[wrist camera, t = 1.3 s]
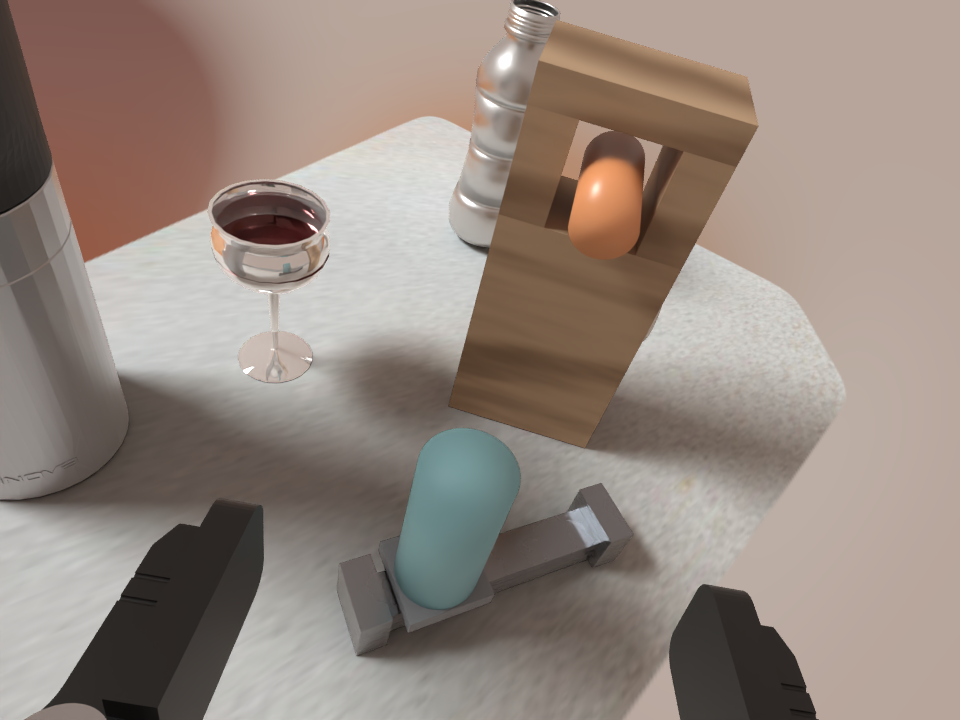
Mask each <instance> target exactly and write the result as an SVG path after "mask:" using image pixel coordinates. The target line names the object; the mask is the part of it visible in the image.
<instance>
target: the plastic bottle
mask: <svg viewBox="0 0 960 720" xmlns="http://www.w3.org/2000/svg"><path fill="white" fill-rule="evenodd" d="M556 20H558V21H559V20H560V11H559V10H558V9H557V8H556V7H554V6H552V5H550V4H548V3H546V2H543V1H540V0H511V3H510V7H509V12H508V18H507V19H506V20H505V25H504V28H505V30H506V31H507V34H506V36H505V37H504V38H503V39H502V40H500V41H499V42H498V43H497V44H496V45H495V46H494V47H493V48H492V49H491V50H490V51H489V52H488V54H487V55H486V56H485V57H484V59H483V61H482V62H481V64H480V66H479V68H478V72H477V79H476V92H475V108H474V119H473V125H472V131H471V139H470V144H469V150H468V153H467V156H466V159H465V163H464V166H463V169H462V172H461V176H460V179H459V181H458V183H457V185H456V187H455V189H454V192H453V194H452V197H451V200H450V203H449V221H450V224H451V226H452V228H453V230H454V232H455V233H456V234H457V235H458V236H459V237H460V238H461V239H463V240H464V241H466V242H468V243H470V244H473V245H476V246H481V247H490V245H491V241H492V237H493V233H494V229H495V225H496V222H497V218H498V214H499V210H500V206H501V202H502V199H503V195H504V191H505V187H506V183H507V179H508V176H509V172H510V168H511V164H512V160H513V156H514V153H515V149H516V145H517V141H518V137H519V133H520V130H521V126H522V122H523V118H524V114H525V110H526V107H527V103H528V99H529V95H530V91H531V87H532V84H533V80H534V76H535V72H536V68H537V64H538V61H539V58H540V56H541V54H542V51H543V49H544V47H545V45H546V42H547V40H548V38H549V36H550V33H551V31H552V29H553V27H554V24H555V22H556Z"/></svg>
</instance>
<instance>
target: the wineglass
mask: <svg viewBox="0 0 960 720" xmlns="http://www.w3.org/2000/svg"><path fill="white" fill-rule="evenodd" d="M207 212H208V215H209V218H210V221H211V223H212V225H213V226H212V231H211V236H210V244H211V247H212V251H213V254H214V256H215V259H216V262H217V264H218V266H219V267H220V268H221V270H222V271H223V272H224V273H225V274H226V276H227V277H228V278H229V279H230V280H231V281H233V282H235V283H237V284H239V285H241V286H242V287H244V288H247V289H249V290H251V291H254V292H258V293H261V294H267V295H268V305H269V315H270V325H271V331H270V332H265V333H260V334H258V335H256V336H253V337H251V338H250V339H249V340H247V341H246V342H245V343H244V344H243V346H242V347H241V349H240V350H239V356H238V361H239V364H240V367H241V368H242V369H243V370H244V371H245V373H246V374H247V375H249V376H251V377H253V378H254V379H256V380H260V381H264V382H273V383H280V382H285V381H290V380H293V379H295V378H297V377H299V376H301V375H302V374H303V373H304V372H305V371H306V370H307V369H308V368H309V366H310V364H311V362H312V351H311V349H310V346H309V345H308V344H307V343H306V342H305V341H304V340H303V339H302V338H300V337H298V336H296V335H295V334H291V333H287V332H283V331H279V305H280V294H286V293H289V292H292V291H294V290H297V289H299V288H301V287H303V286H306V285H308V284H309V283H310V282H312V281H313V280H314V279H315V278H317V277H318V275H319V273H320V272H321V270H322V268H323V266H324V265H325V263H326V261H327V259H328V257H329V251H330V237H329V233H328V230H327V228H326V227H327V225H328V224H329V222H330V210H329V208H328V207H327V205H326V203H325V201H324V200H323V199H321V198H320V197H319V196H318V195H317V194H316V193H314V192H313V191H311V190H309V189H307V188H304V187H302V186H300V185H297V184H293V183H289V182H286V181H279V180H268V179H261V180H249V181H244V182H240V183H236V184H233V185H230V186H228V187H226V188H225V189H223V190H221V191H219V192H218V193H217V194H216V195H215V196H214V197H213V198H212V200H210V203H209V207H208V211H207Z"/></svg>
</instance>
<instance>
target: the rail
mask: <svg viewBox="0 0 960 720" xmlns="http://www.w3.org/2000/svg"><path fill="white" fill-rule="evenodd" d="M632 536H633V533H632V531H631V529H630V528H629V526H628V525H627V523H626V521H625V520H624V518H623V517H622V515H621V513H620V512H619V510H618V509H617V507H616V505H615V504H614V502H613V501H612V499H611V497H610V496H609V494H608V493H607V491H606V489H605V488H604V486H603V485H602V483H600V484H597V485H593V486H590V487H587V488H584V489H580V490H579V492H578V494H577V495H576V497H575V499H574V501H573V502H572V504H571V506H570V508H569V509H568V511H567V512H566V513H563V514H560V515H557V516H554V517H551V518H547V519H544V520H541V521H538V522H535V523H532V524H529V525H526V526H523V527H519V528H516V529H513V530H510V531H507V532H504V533H501V534H499V535H498V537H497V540H496V542H495V544H494V546H493V549H492V551H491V553H490V555H489V557H488V560H487V562H486V564H485V566H484V569H483V570H484V572H485V574H486V576H487V578H488V581H489V583H490V585H491V587H492V590H493V592H494V593H496V592H499V591H501V590H504V589H507V588H510V587H512V586H515V585H518V584H521V583H523V582H526V581H529V580H532V579H534V578H537V577H540V576H543V575H545V574H548V573H551V572H554V571H556V570H559V569H562V568H565V567H567V566H570V565H573V564H576V563H578V562H581V561H584V560H587V559H588V560H589V562H590V564H591V566H592V567H593V568H594V567H597V566H599V565H602V564H605V563H607V562H610V561H613V560H615V558H616V557H617V556H618V554H619V553H620V552H621V550H622V549H623V548H624V546H625V545H626V544H627V542H628V541H629V540H630V538H631V537H632ZM337 592H338V596H339V599H340V602H341V606H342V609H343V612H344V616H345V619H346V622H347V626H348V629H349V632H350V636H351V639H352V642H353V646H354V649H355V652H356V656H358V655H360V654H363V653H366V652H368V651H371V650H374V649H376V648H379V647H382V646H385V645H387V642H388V638H389V634H390V631H391V630H394V629H397V628H400V627H402V626H405V624H404V621H403V618H402V615H401V612H400V610H399V607H398V604H397V601H396V598H395V596H394V593H393V590H392V587H391V584H390V581H389V579H388V576H387V573H386V571H383V572H380V573H377V572H376V569H375V566H374V563H373V560H372V558H371V555H370V554H369V555H365V556H362V557H359V558H356V559H352V560H349V561H346V562H343V563H340V565H339V575H338V585H337Z"/></svg>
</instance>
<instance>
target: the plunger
mask: <svg viewBox="0 0 960 720" xmlns="http://www.w3.org/2000/svg"><path fill="white" fill-rule="evenodd" d="M644 166H645V153H644V150H643V147H642V145H641V144H640V142H639V141H638V140H637V139H636V138H635V137H633V136H631V135H628V134H624V133H621V132H618V131H609V132H605V133H602V134H600V135H599V136H597V137H596V138H594V139H593V140H592V141H591V142H590V144H589V145H588V146H587V148H586V150H585V153H584V157H583V162H582V166H581V171H580V175H579V180H578V184H577V189H576V193H575V198H574V202H573V206H572V211H571V215H570V220H569V225H568V233H569V237H570V240H571V242H572V243H573V245H574V246H575V247H576V248H577V250H579V251H580V252H581V253H583V254H584V255H586V256H588V257H591V258H595V259H600V260H607V259H614V258H617V257H620V256H622V255H624V254H626V253H627V252H628V251H630V250H631V249H632V248H633V246H634V245H635V244H636V242H637V240H638V237H639V234H640V222H641V208H642V194H643V181H644Z"/></svg>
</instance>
